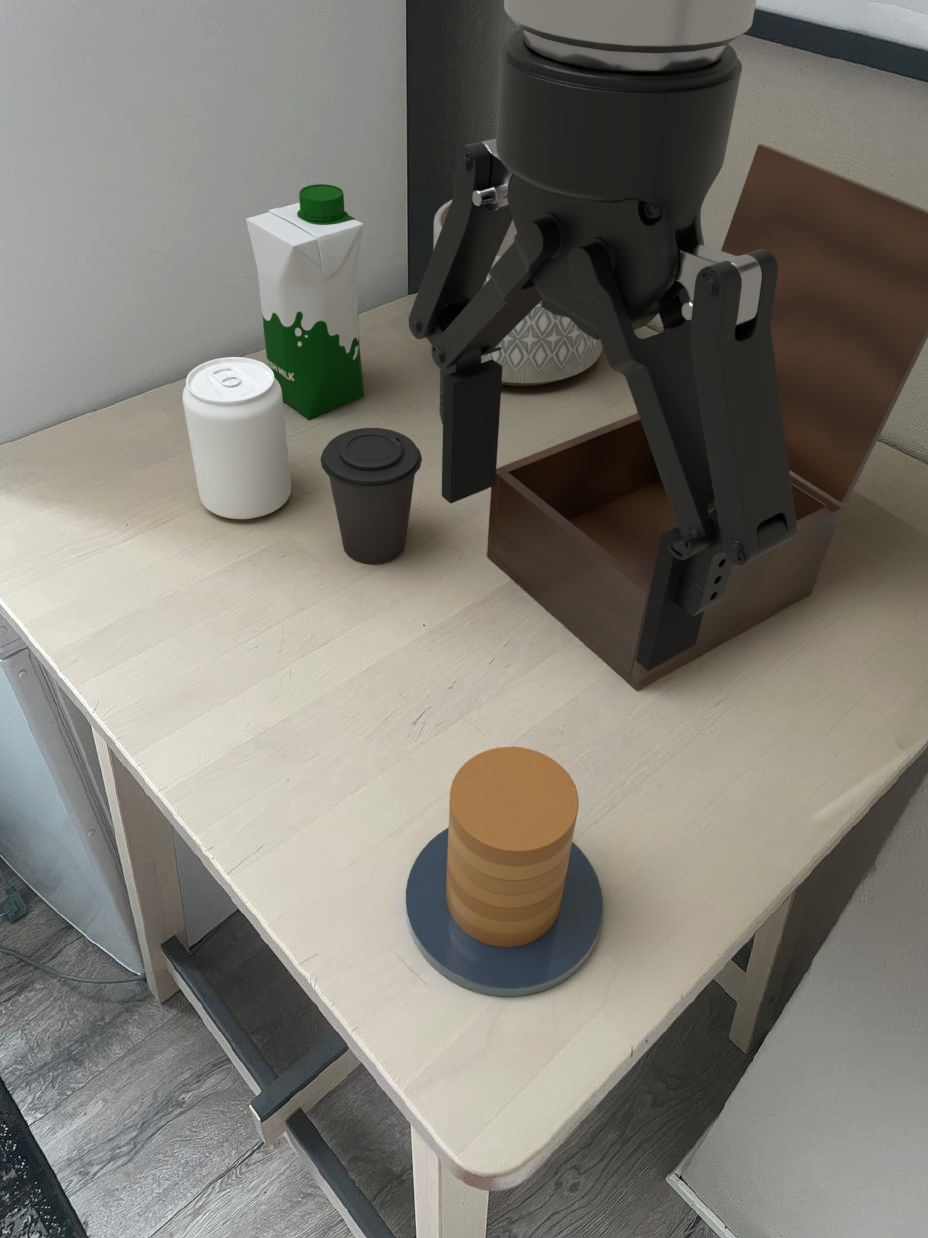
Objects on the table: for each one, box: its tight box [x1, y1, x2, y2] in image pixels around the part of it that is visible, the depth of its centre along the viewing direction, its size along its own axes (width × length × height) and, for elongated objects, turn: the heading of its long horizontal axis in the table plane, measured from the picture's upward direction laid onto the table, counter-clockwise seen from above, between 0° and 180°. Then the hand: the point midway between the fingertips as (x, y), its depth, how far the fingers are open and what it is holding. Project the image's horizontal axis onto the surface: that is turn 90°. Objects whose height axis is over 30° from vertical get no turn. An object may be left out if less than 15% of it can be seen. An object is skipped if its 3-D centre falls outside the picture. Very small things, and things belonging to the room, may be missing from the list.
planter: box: [432, 199, 603, 387], centre depth 109 cm, size 19×19×14 cm
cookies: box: [446, 746, 580, 947], centre depth 59 cm, size 7×7×10 cm
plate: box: [405, 826, 604, 998], centre depth 63 cm, size 12×12×1 cm
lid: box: [720, 143, 928, 504], centre depth 80 cm, size 21×19×5 cm
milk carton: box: [245, 183, 365, 420], centre depth 99 cm, size 9×9×20 cm
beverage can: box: [182, 356, 292, 520], centre depth 88 cm, size 8×8×12 cm
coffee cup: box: [320, 427, 423, 565], centre depth 85 cm, size 8×8×10 cm
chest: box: [486, 412, 843, 691], centre depth 83 cm, size 20×19×9 cm
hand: (558, 565), depth 46 cm, fingers open, 13 cm apart
